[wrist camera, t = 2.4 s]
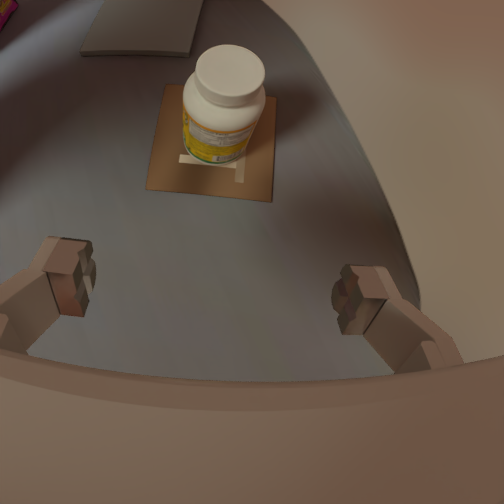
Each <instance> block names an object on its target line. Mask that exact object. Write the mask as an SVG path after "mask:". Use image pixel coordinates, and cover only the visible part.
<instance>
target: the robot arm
mask: <svg viewBox="0 0 504 504" xmlns="http://www.w3.org/2000/svg"><path fill="white" fill-rule="evenodd" d="M92 253H93V247H92V242H91V241H89V240H81V239H73V238H65V237H62V238H61V237H54V236H48V237H46V238H45V240H44V242H43V243H42V245H41V247H40V248H39V250H38V252H37V253H36V255H35V257H34V259H33V260H32V262H31V264H30V266H29V268H28V269H23V270H22V271H20V272H19V273H17V274H16V275H14V276H13V277H11V278H10V279H8V280H7V281H5V282H4V283H2V284H1V285H0V504H504V355H502V356H498V357H494V358H490V359H485V360H480V361H475V362H470V363H465V364H464V362H463V360H462V358H461V356H460V353H459V351H458V349H457V347H456V345H455V343H454V341H453V339H452V338H451V337H450V336H449V335H448V334H447V333H446V332H444V331H443V330H442V329H441V328H440V327H438V326H437V325H436V324H435V323H434V322H433V321H431V320H430V319H429V318H428V317H427V316H425V315H424V314H423V313H422V312H421V311H419V310H418V309H417V308H416V307H414V306H413V305H412V304H411V303H410V302H408V301H407V300H403V299H402V297H401V295H400V293H399V291H398V289H397V287H396V285H395V283H394V281H393V280H392V278H391V276H390V274H389V272H388V270H387V269H386V268H385V267H383V266H363V265H351V264H345V265H344V266H343V268H342V270H341V272H340V274H341V277H342V278H341V279H339V280H338V281H337V282H335V284H334V287H333V289H332V295H331V301H332V306H333V309H334V310H335V311H336V312H337V313H338V314H339V316H338V318H337V321H338V324H339V328H340V331H341V334H342V335H363V337H364V338H365V339H366V340H367V341H368V342H369V343H370V345H371V346H372V347H373V348H374V349H375V350H376V351H377V353H378V354H379V355H380V356H381V357H382V358H383V359H384V361H385V362H386V363H387V364H388V365H389V366H390V368H391V369H392V370H393V371H394V372H395V373H394V374H393V375H385V376H375V377H364V378H352V379H338V380H320V381H292V382H241V381H213V380H196V379H181V378H169V377H158V376H149V375H140V374H131V373H123V372H116V371H109V370H102V369H96V368H89V367H83V366H78V365H72V364H67V363H62V362H56V361H52V360H47V359H42V358H38V357H33V356H29V355H28V353H27V351H26V350H27V349H28V348H29V347H30V346H31V345H32V344H33V343H34V342H35V341H36V340H37V339H38V338H39V337H40V336H41V335H42V334H43V333H44V332H45V331H46V330H47V329H48V328H49V327H50V326H51V325H52V324H53V323H54V322H55V321H56V320H57V319H58V318H59V317H60V315H68V316H76V317H84V316H85V313H86V309H87V306H88V303H89V299H88V294H89V293H90V292H92V291H93V288H94V285H95V280H96V265H95V261H94V260H93V259H92V258H91V255H92Z"/></svg>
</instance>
